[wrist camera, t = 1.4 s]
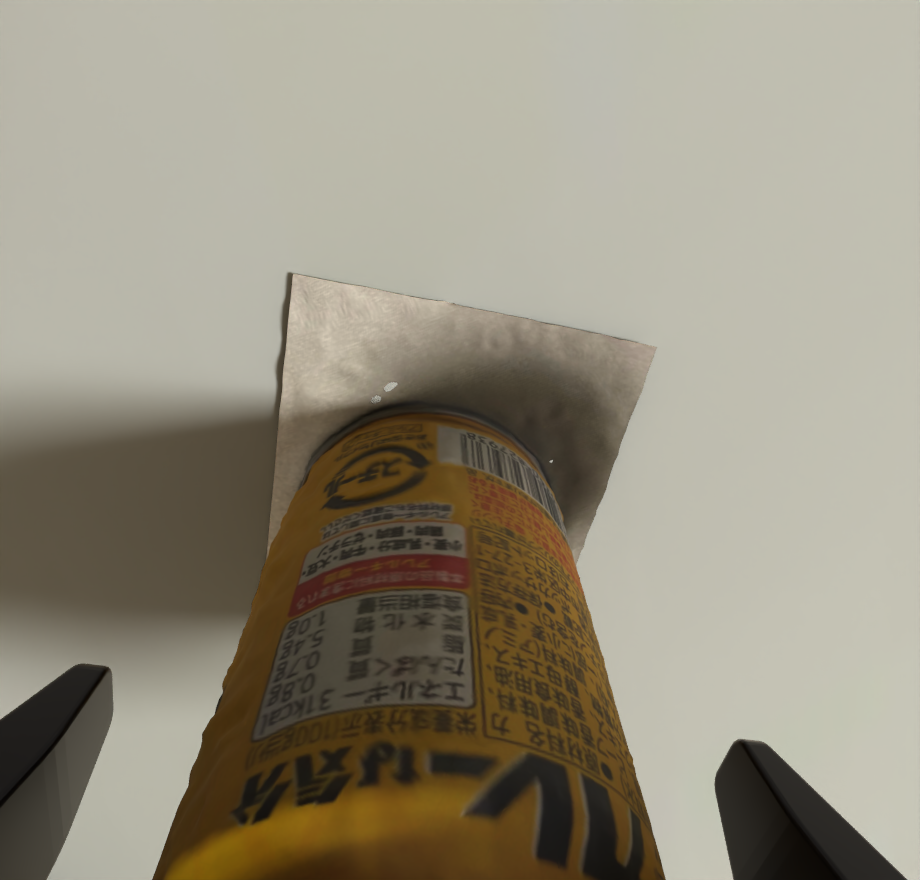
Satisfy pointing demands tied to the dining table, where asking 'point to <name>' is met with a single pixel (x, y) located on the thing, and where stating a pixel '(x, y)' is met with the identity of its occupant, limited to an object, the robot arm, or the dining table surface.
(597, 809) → the condiment
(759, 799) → the robot arm
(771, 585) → the dining table surface
